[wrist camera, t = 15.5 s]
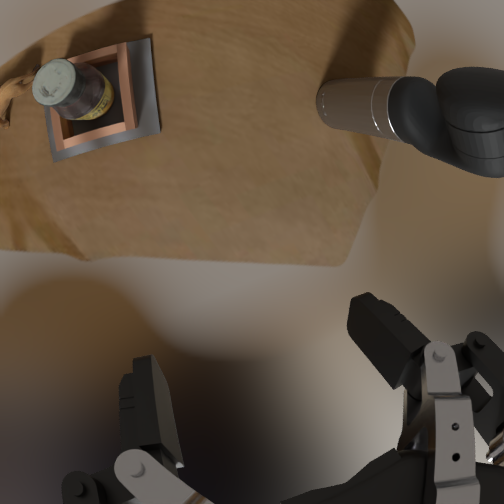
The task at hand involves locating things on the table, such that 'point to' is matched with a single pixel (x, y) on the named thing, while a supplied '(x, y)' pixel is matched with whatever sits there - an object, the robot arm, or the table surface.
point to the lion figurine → (13, 93)
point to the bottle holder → (122, 110)
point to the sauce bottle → (73, 90)
